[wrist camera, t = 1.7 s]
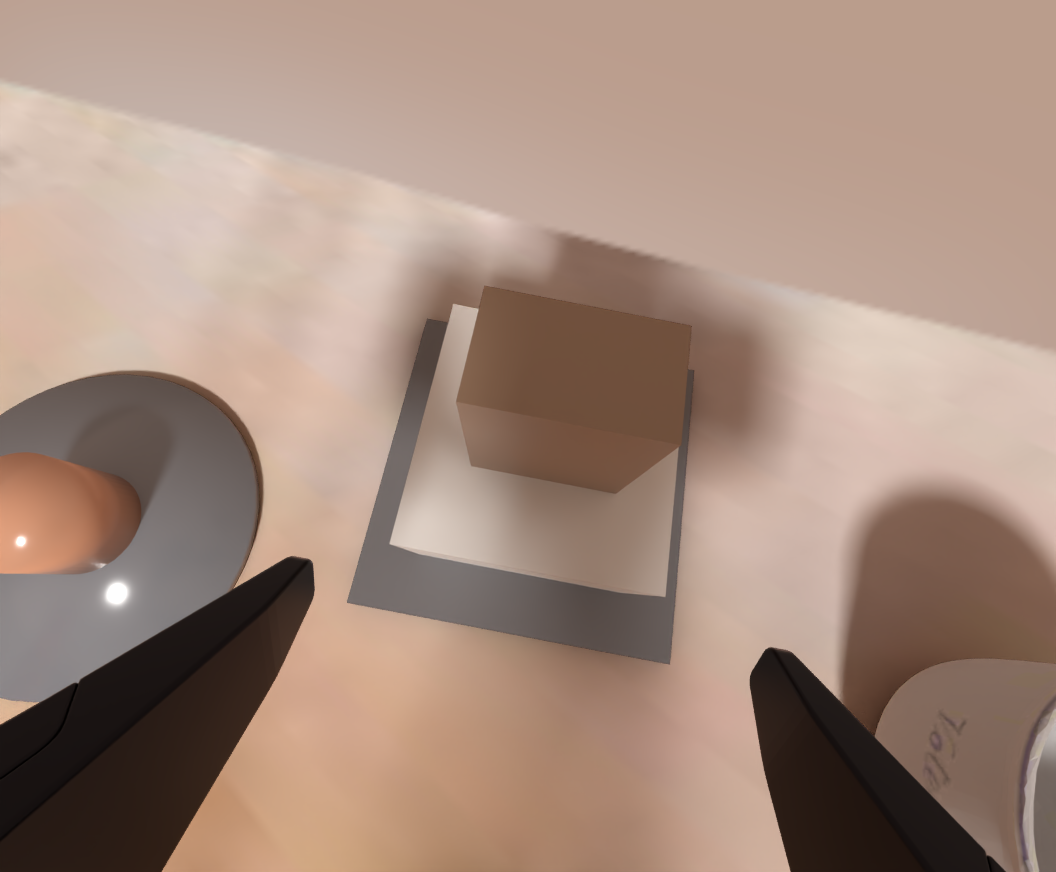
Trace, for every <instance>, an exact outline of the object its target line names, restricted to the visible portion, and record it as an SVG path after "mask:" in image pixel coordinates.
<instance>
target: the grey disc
mask: <svg viewBox="0 0 1056 872" xmlns="http://www.w3.org/2000/svg"><path fill="white" fill-rule="evenodd" d="M258 513H259V485H258V479H257V473H256V468H255V464H254V461H253V458H252V455H251V452H250V450H249V448H248V446H247V444H246V442H245V440H244V438H243V436H242V434H241V433H240V432H239V430H238V429H237V428H236V426H235V425H234V423H233V422H232V421H231V420H230V419H229V418H228V417H227V416H226V415H225V414H224V413H223V412H222V411H221V410H220V409H219V408H218V407H216V406H215V405H214V404H212V403H211V402H210V401H208V400H207V399H206V398H204V397H202V396H201V395H199V394H197V393H195V392H193V391H191V390H189V389H188V388H186V387H183V386H181V385H178V384H175V383H172V382H170V381H166V380H162V379H158V378H153V377H148V376H137V375H107V376H99V377H92V378H86V379H82V380H78V381H73V382H69V383H66V384H63V385H60V386H57V387H54V388H51V389H49V390H46V391H44V392H42V393H39V394H37V395H35V396H33V397H31V398H29V399H26V400H25V401H23V402H21V403H19V404H18V405H16V406H14V407H13V408H11V409H9V410H7V411H6V412H4V413H3V414H2V415H0V698H2V699H7V700H11V701H25V702H41V701H43V700H45V699H46V698H48V697H50V696H52V695H53V694H55V693H57V692H58V691H60V690H62V689H64V688H65V687H67V686H69V685H70V684H72V683H75V682H76V683H78V682H79V680H80V679H81V678H83V677H84V676H86V675H88V674H89V673H91V672H93V671H95V670H96V669H98V668H100V667H101V666H103V665H105V664H106V663H108V662H110V661H112V660H113V659H115V658H117V657H118V656H120V655H122V654H123V653H125V652H127V651H129V650H130V649H132V648H134V647H135V646H137V645H139V644H141V643H142V642H144V641H146V640H147V639H149V638H151V637H152V636H154V635H156V634H158V633H159V632H161V631H163V630H164V629H166V628H168V627H169V626H171V625H173V624H175V623H176V622H178V621H180V620H181V619H183V618H185V617H187V616H188V615H190V614H192V613H193V612H195V611H197V610H198V609H200V608H202V607H204V606H205V605H207V604H209V603H210V602H212V601H214V600H215V599H217V598H219V597H221V596H222V595H224V594H226V593H227V592H229V591H231V590H232V589H233V587H234V586H235V584H236V582H237V580H238V578H239V576H240V574H241V572H242V570H243V568H244V566H245V563H246V561H247V558H248V556H249V553H250V550H251V548H252V544H253V540H254V536H255V532H256V528H257V521H258Z"/></svg>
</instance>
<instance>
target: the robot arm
mask: <svg viewBox="0 0 1056 872" xmlns="http://www.w3.org/2000/svg"><path fill="white" fill-rule="evenodd" d="M314 591H315V587H314V571H313V563H312V561H311V560H309V559H306V558H301V557H296V556H290V557H287V558H285V559H284V560H282V561H280V562H278V563H277V564H275V565H273V566H272V567H270V568H268V569H267V570H265V571H263V572H261V573H260V574H258V575H256V576H255V577H253V578H251V579H250V580H248V581H246V582H244V583H243V584H241V585H239V586H238V587H236V588H234V589H232V590H231V591H229V592H227V593H226V594H224V595H222V596H221V597H219V598H217V599H215V600H214V601H212V602H210V603H209V604H207V605H205V606H204V607H202V608H200V609H198V610H197V611H195V612H193V613H192V614H190V615H188V616H187V617H185V618H183V619H181V620H180V621H178V622H176V623H175V624H173V625H171V626H169V627H168V628H166V629H164V630H163V631H161V632H159V633H158V634H156V635H154V636H152V637H151V638H149V639H147V640H146V641H144V642H142V643H141V644H139V645H137V646H135V647H134V648H132V649H130V650H129V651H127V652H125V653H123V654H122V655H120V656H118V657H117V658H115V659H113V660H112V661H110V662H108V663H106V664H105V665H103V666H101V667H100V668H98V669H96V670H95V671H93V672H91V673H89V674H88V675H86V676H84V677H83V678H81V679H80V680H79V682H78V683H76V682H75V683H72V684H70V685H69V686H67V687H65V688H64V689H62V690H60V691H58V692H57V693H55V694H53V695H52V696H50V697H48V698H46V699H45V700H43V701H41V702H39V703H38V704H36V705H34V706H32V707H31V708H29V709H27V710H25V711H24V712H22V713H20V714H18V715H17V716H15V717H13V718H11V719H9V720H8V721H6V722H4V723H2V724H1V725H0V872H162V870H163V868H164V867H165V865H166V863H167V862H168V860H169V858H170V856H171V855H172V853H173V851H174V850H175V848H176V846H177V845H178V843H179V841H180V840H181V838H182V836H183V835H184V833H185V831H186V830H187V828H188V826H189V824H190V823H191V821H192V819H193V818H194V816H195V814H196V813H197V811H198V809H199V808H200V806H201V804H202V803H203V801H204V799H205V797H206V796H207V794H208V792H209V791H210V789H211V787H212V786H213V784H214V782H215V781H216V779H217V777H218V776H219V774H220V772H221V771H222V769H223V767H224V765H225V764H226V762H227V760H228V759H229V757H230V755H231V754H232V752H233V750H234V749H235V747H236V745H237V744H238V742H239V740H240V738H241V737H242V735H243V733H244V732H245V730H246V728H247V727H248V725H249V723H250V722H251V720H252V718H253V717H254V715H255V713H256V712H257V710H258V708H259V706H260V705H261V703H262V701H263V700H264V698H265V696H266V695H267V693H268V691H269V690H270V688H271V686H272V684H273V682H274V681H275V679H276V677H277V675H278V673H279V671H280V669H281V667H282V665H283V663H284V661H285V658H286V656H287V654H288V652H289V650H290V648H291V645H292V643H293V641H294V639H295V637H296V635H297V632H298V630H299V628H300V626H301V624H302V622H303V619H304V617H305V615H306V613H307V611H308V609H309V607H310V604H311V602H312V599H313V596H314ZM750 690H751V696H752V702H753V708H754V714H755V720H756V726H757V732H758V738H759V744H760V750H761V756H762V762H763V767H764V771H765V776H766V780H767V784H768V788H769V791H770V795H771V799H772V803H773V807H774V810H775V814H776V818H777V822H778V826H779V829H780V833H781V837H782V841H783V844H784V848H785V852H786V856H787V860H788V863H789V867H790V871H791V872H1006V871H1005V870H1004V869H1003V868H1002V867H1001V866H1000V865H999V864H998V863H997V862H996V861H995V860H994V859H993V858H992V857H991V856H989V855H987V854H986V851H985V850H984V849H983V847H982V846H981V845H980V844H979V843H978V842H977V841H976V840H975V839H974V838H973V837H972V836H971V835H970V834H969V833H968V832H967V831H966V830H965V829H964V828H963V827H962V826H961V825H960V824H959V823H958V822H957V821H956V820H955V819H954V818H953V817H952V816H951V815H950V814H949V813H948V812H947V811H946V810H945V809H944V808H943V806H942V805H941V804H940V803H939V802H938V801H937V800H936V799H935V798H934V797H933V796H932V795H931V794H930V793H929V792H928V791H927V790H926V789H925V788H924V787H923V786H922V785H921V784H920V783H919V782H918V781H917V780H916V779H915V778H914V777H913V776H912V775H911V774H910V773H909V772H908V771H907V770H906V769H905V768H904V766H903V765H902V764H901V763H900V762H899V761H898V760H897V759H896V758H895V757H894V756H893V755H892V754H891V753H890V752H889V751H888V750H887V749H886V748H885V747H884V746H883V745H882V744H881V743H880V742H879V741H878V740H877V739H876V738H875V737H874V736H873V735H872V734H871V733H870V732H869V731H868V730H867V729H866V728H865V727H864V725H863V724H862V723H861V722H860V721H859V720H858V719H857V718H856V717H855V716H854V715H853V714H852V713H851V712H850V711H849V710H848V709H847V708H846V707H845V706H844V705H843V704H842V703H841V702H840V701H839V700H838V699H837V698H836V697H835V696H834V695H833V694H832V693H831V692H830V691H829V690H828V689H827V688H826V687H825V685H824V684H823V683H822V682H821V681H820V680H819V679H818V678H817V677H816V676H815V675H814V674H813V673H812V672H811V671H810V670H809V669H808V668H807V667H806V666H805V665H804V664H803V663H802V662H801V661H800V660H799V659H798V658H797V657H796V656H795V655H794V654H793V653H792V652H790V651H788V650H783V649H778V648H773V647H769V648H768V649H766V650H765V651H764V653H763V654H762V656H761V657H760V659H759V661H758V662H757V664H756V666H755V667H754V669H753V670H752V672H751V675H750Z"/></svg>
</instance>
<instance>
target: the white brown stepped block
mask: <svg viewBox="0 0 1056 872" xmlns="http://www.w3.org/2000/svg"><path fill="white" fill-rule="evenodd" d="M691 327H692V326H689V325H684V324H679V323H674V322H669V321H663V320H658V319H653V318H648V317H643V316H638V315H633V314H627V313H622V312H617V311H612V310H607V309H602V308H596V307H591V306H586V305H581V304H576V303H571V302H566V301H560V300H555V299H550V298H545V297H540V296H535V295H529V294H524V293H519V292H514V291H509V290H504V289H498V288H493V287H488V286H484V290H483V294H482V298H481V302H480V306H479V309H477V308H472V307H467V306H461V305H456V304H453V307H452V311H451V314H450V318H449V322H448V326H447V329H446V333H445V337H444V341H443V344H442V348H441V352H440V356H439V359H438V363H437V367H436V371H435V374H434V378H433V382H432V386H431V389H430V393H429V397H428V401H427V404H426V408H425V412H424V416H423V419H422V423H421V427H420V431H419V434H418V438H417V442H416V446H415V449H414V453H413V457H412V461H411V464H410V468H409V472H408V476H407V479H406V483H405V487H404V491H403V494H402V498H401V502H400V506H399V509H398V513H397V517H396V521H395V524H394V528H393V532H392V536H391V540H390V543H389V544H391V545H394V546H397V547H400V548H403V549H405V550H408V551H411V552H414V553H417V554H421V555H426V556H431V557H436V558H441V559H447V560H452V561H457V562H462V563H467V564H473V565H478V566H483V567H488V568H494V569H499V570H504V571H509V572H514V573H520V574H525V575H530V576H535V577H540V578H546V579H551V580H556V581H561V582H566V583H572V584H577V585H582V586H587V587H593V588H598V589H603V590H608V591H613V592H619V593H629V594H639V595H650V596H661V597H665V596H666V585H667V573H668V562H669V551H670V540H671V528H672V517H673V506H674V494H675V483H676V472H677V461H678V449H679V447H680V446H681V442H682V430H683V419H684V407H685V396H686V384H687V373H688V361H689V350H690V338H691Z"/></svg>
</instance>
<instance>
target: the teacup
mask: <svg viewBox="0 0 1056 872" xmlns="http://www.w3.org/2000/svg"><path fill="white" fill-rule="evenodd" d="M875 738H876V739H877V740H878V741H879V742H880V743H881V744H882V745H883V746H884V747H885V748H886V749H887V750H888V751H889V752H890V753H891V754H892V755H893V756H894V757H895V758H896V759H897V760H898V761H899V762H900V763H901V764H902V765H903V766H904V768H905V769H906V770H907V771H908V772H909V773H910V774H911V775H912V776H913V777H914V778H915V779H916V780H917V781H918V782H919V783H920V784H921V785H922V786H923V787H924V788H925V789H926V790H927V791H928V792H929V793H930V794H931V795H932V796H933V797H934V798H935V799H936V800H937V801H938V802H939V803H940V804H941V805H942V806H943V808H944V809H945V810H946V811H947V812H948V813H949V814H950V815H951V816H952V817H953V818H954V819H955V820H956V821H957V822H958V823H959V824H960V825H961V826H962V827H963V828H964V829H965V830H966V831H967V832H968V833H969V834H970V835H971V836H972V837H973V838H974V839H975V840H976V841H977V842H978V843H979V844H980V845H981V846H982V847H983V849H984V850H985V851H986V854H987V855H989V856H991V857H992V858H993V859H994V860H995V861H996V862H997V863H998V864H999V865H1000V866H1001V867H1002V868H1003V869H1004V870H1005V871H1006V872H1056V664H1054V663H1043V662H1032V661H1021V660H1008V659H992V658H985V659H963V660H954V661H949V662H945V663H940V664H937V665H934V666H931V667H929V668H927V669H925V670H923V671H921V672H919V673H917V674H916V675H914V676H913V677H911V678H910V679H909V680H908V681H906V682H905V683H904V684H903V685H902V686H901V687H900V688H899V689H898V690H897V691H896V692H895V694H894V695H893V696H892V697H891V699H890V701H889V702H888V704H887V706H886V707H885V709H884V711H883V713H882V716H881V718H880V721H879V723H878V726H877V730H876V734H875Z"/></svg>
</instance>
